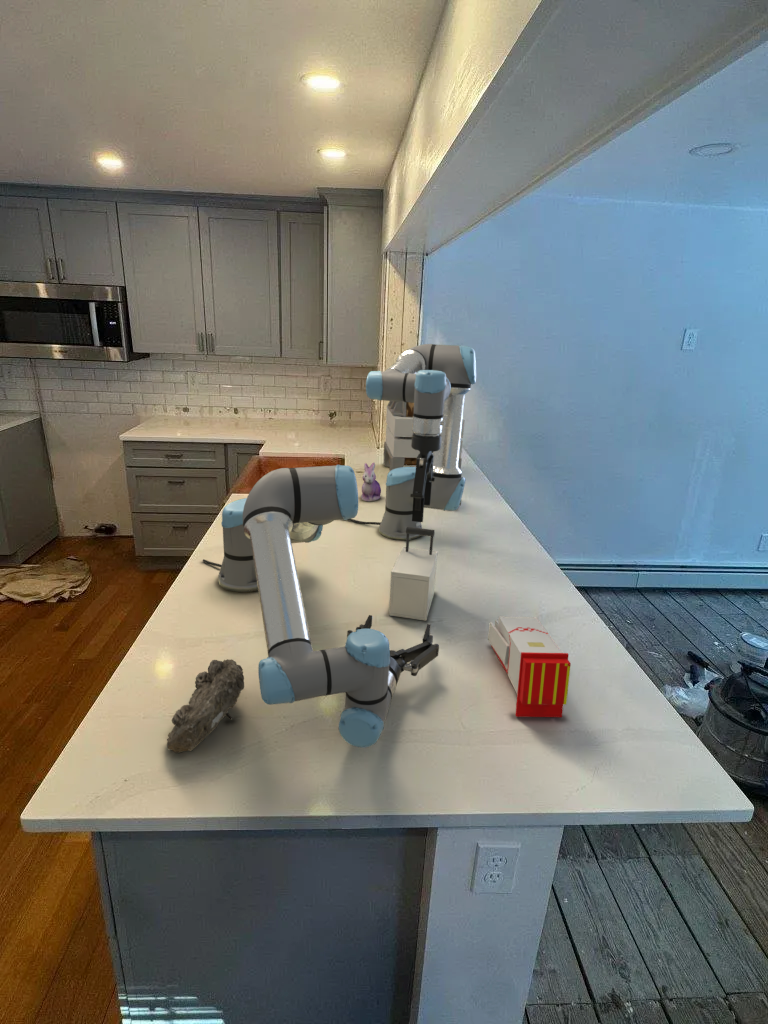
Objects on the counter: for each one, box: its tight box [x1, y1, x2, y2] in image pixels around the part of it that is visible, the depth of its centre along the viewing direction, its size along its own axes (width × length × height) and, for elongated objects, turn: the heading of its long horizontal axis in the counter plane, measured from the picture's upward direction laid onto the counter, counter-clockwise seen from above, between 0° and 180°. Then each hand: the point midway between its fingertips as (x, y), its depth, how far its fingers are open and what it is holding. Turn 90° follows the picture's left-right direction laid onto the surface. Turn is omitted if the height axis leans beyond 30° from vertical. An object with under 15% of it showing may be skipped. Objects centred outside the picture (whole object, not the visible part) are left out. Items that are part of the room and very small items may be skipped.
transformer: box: [383, 401, 465, 472], centre depth 268 cm, size 34×33×41 cm
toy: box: [487, 616, 572, 718], centre depth 123 cm, size 12×13×30 cm
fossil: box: [166, 658, 245, 754], centre depth 106 cm, size 22×10×15 cm
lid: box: [390, 527, 439, 581], centre depth 148 cm, size 16×10×8 cm, turn 168°
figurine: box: [360, 462, 382, 502], centre depth 233 cm, size 9×10×15 cm
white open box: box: [388, 558, 438, 622], centre depth 151 cm, size 16×10×11 cm, turn 168°
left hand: (399, 624), depth 130 cm, fingers open, 13 cm apart
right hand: (421, 512), depth 150 cm, fingers open, 13 cm apart
